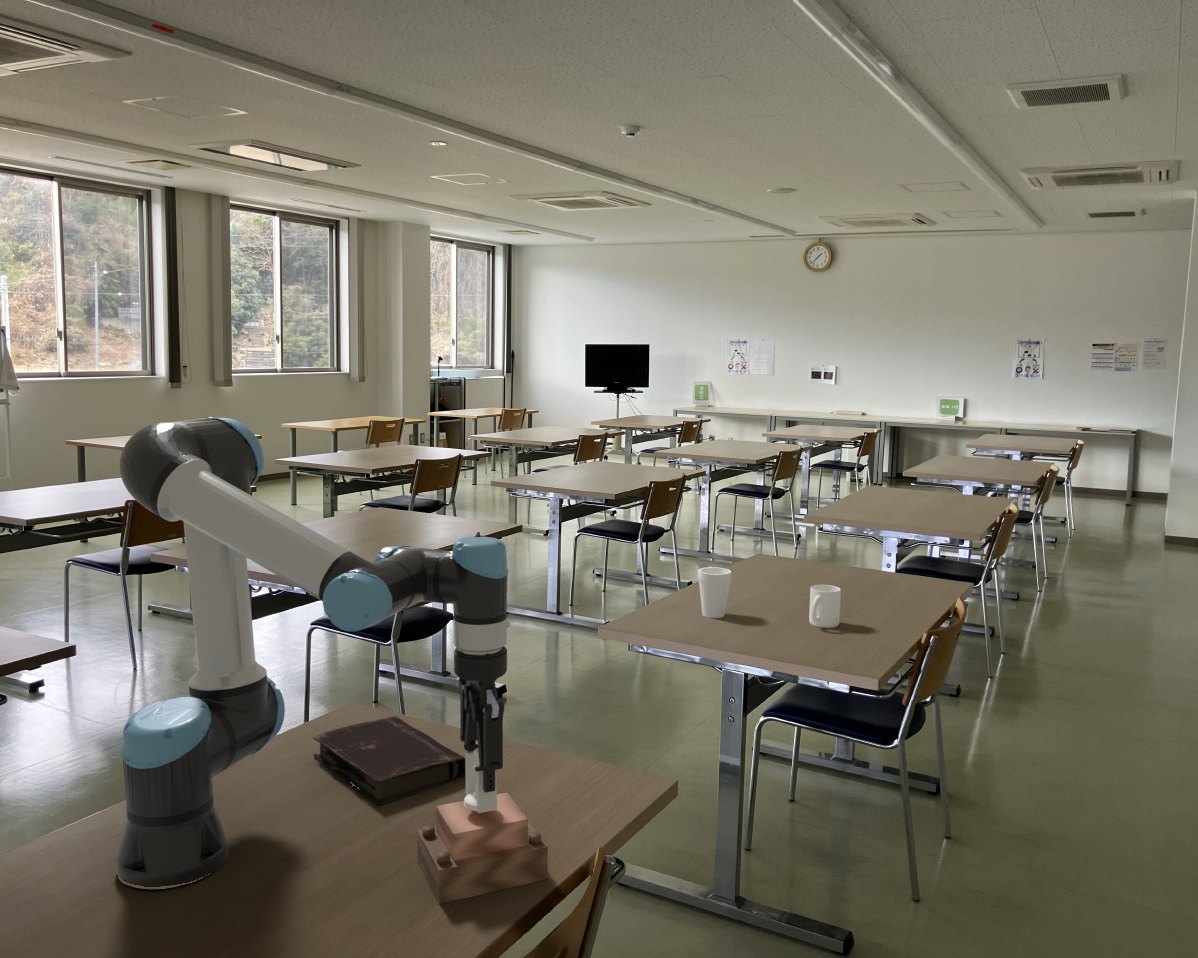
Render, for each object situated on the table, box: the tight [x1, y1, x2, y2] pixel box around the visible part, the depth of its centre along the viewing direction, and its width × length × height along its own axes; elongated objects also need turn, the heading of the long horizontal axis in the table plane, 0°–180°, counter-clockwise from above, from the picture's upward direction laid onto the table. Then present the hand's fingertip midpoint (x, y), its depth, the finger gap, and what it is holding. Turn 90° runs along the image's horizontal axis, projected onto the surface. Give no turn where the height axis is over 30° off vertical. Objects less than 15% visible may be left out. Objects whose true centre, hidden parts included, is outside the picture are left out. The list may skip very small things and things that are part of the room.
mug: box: [808, 584, 842, 629], centre depth 267 cm, size 12×8×10 cm
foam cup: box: [697, 566, 732, 619], centre depth 277 cm, size 10×9×13 cm
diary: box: [312, 715, 466, 808], centre depth 175 cm, size 19×25×5 cm
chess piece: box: [463, 740, 498, 811], centre depth 139 cm, size 5×5×10 cm
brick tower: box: [416, 792, 549, 905], centre depth 141 cm, size 16×12×9 cm
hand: (480, 801), depth 140 cm, fingers closed on chess piece, 5 cm apart
